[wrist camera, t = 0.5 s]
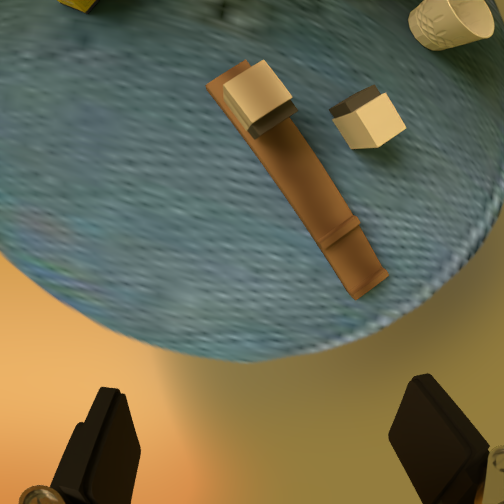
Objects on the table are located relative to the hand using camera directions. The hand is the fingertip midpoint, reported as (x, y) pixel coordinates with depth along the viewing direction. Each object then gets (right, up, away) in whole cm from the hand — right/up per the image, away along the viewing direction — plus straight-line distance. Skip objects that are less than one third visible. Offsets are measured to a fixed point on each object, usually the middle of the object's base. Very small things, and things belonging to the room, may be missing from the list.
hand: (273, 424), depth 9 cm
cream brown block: (+11, +20, +24) cm, 33 cm away
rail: (+5, +13, +26) cm, 29 cm away
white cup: (+23, +35, +21) cm, 47 cm away
